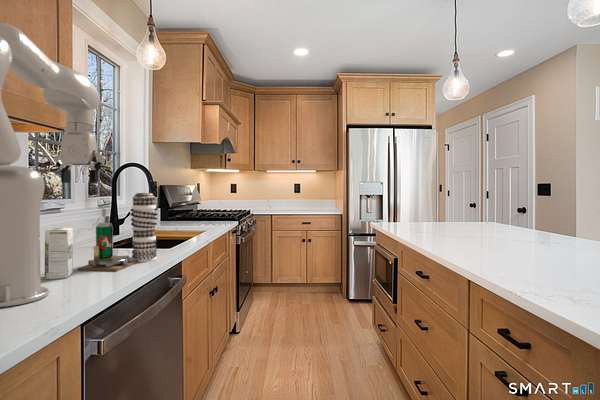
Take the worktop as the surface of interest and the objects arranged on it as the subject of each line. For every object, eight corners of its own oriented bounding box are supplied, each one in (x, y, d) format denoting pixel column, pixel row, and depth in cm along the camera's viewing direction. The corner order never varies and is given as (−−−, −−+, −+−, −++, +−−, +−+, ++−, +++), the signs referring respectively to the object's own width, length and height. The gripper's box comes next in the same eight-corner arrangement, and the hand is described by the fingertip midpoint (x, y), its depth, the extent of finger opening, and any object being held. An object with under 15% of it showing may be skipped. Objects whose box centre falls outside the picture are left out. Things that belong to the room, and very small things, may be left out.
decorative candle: (139, 256, 129) (138, 192, 128) (162, 257, 129) (161, 193, 128) (125, 261, 120) (124, 193, 119) (150, 262, 120) (149, 193, 119)
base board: (116, 271, 106) (116, 268, 106) (77, 270, 107) (77, 268, 107) (138, 262, 119) (138, 260, 119) (103, 261, 120) (103, 259, 120)
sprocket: (87, 268, 105) (87, 249, 105) (89, 260, 116) (89, 243, 116) (134, 264, 112) (134, 246, 111) (131, 257, 123) (131, 240, 123)
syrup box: (50, 275, 101) (50, 227, 100) (73, 273, 103) (73, 227, 103) (44, 280, 95) (43, 230, 95) (68, 278, 98) (68, 229, 97)
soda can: (102, 256, 117) (102, 222, 117) (116, 256, 117) (116, 222, 117) (92, 259, 112) (92, 223, 112) (106, 259, 112) (106, 224, 112)
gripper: (45, 128, 106) (45, 182, 105) (97, 127, 104) (96, 182, 104) (64, 133, 113) (64, 183, 113) (112, 132, 112) (112, 183, 112)
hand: (79, 182), depth 109 cm, fingers open, 9 cm apart
